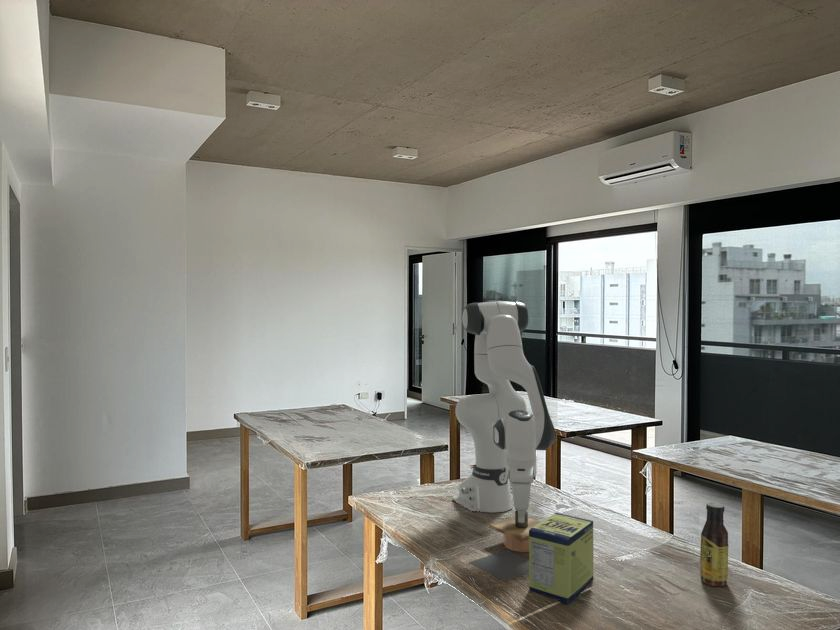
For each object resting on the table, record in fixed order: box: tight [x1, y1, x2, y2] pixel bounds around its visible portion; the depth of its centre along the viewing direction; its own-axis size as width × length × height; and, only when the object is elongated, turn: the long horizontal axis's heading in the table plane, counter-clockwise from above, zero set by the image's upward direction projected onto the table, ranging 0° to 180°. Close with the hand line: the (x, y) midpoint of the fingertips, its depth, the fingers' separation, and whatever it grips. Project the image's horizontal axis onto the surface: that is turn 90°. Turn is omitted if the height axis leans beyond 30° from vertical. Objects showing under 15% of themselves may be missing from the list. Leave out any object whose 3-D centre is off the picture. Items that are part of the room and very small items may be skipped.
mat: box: [468, 549, 529, 582], centre depth 163 cm, size 14×14×1 cm
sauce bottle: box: [699, 501, 729, 587], centre depth 153 cm, size 7×6×20 cm
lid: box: [488, 510, 542, 542], centre depth 176 cm, size 13×13×5 cm
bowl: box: [502, 533, 529, 553], centre depth 176 cm, size 10×10×5 cm
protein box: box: [528, 512, 594, 605], centre depth 151 cm, size 10×16×16 cm
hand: (521, 516), depth 176 cm, fingers open, 8 cm apart
